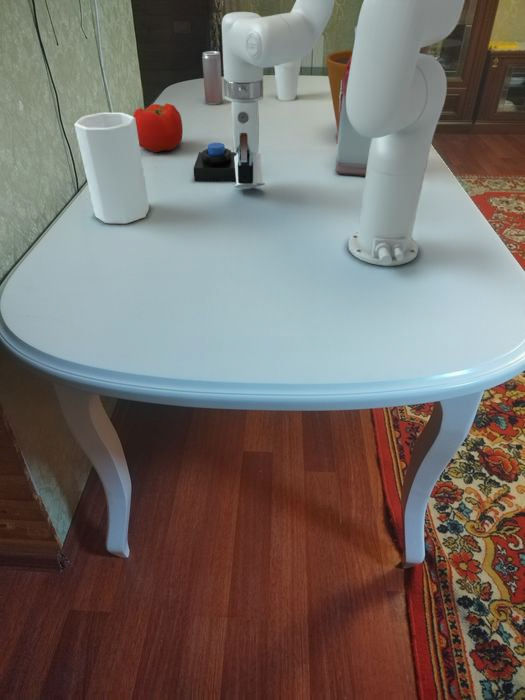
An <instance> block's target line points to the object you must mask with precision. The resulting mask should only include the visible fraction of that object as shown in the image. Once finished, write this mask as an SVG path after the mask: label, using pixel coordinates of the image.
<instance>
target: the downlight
mask: <svg viewBox="0 0 525 700" xmlns="http://www.w3.org/2000/svg"><path fill="white" fill-rule="evenodd" d="M234 162H235V173H236V182H235V183H236V184H233V188H241V189H244V188H255V187H262V186H264V185H266V182H263V172H262V158H261V153H259V152H258V153H257V154H256V155H255V153H252V162H253V183H252V184H240V183H238V153H237V155H236V156H234Z"/></svg>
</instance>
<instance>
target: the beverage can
mask: <svg viewBox="0 0 525 700" xmlns="http://www.w3.org/2000/svg"><path fill="white" fill-rule="evenodd" d="M221 57H222V56H221V53H220V52H219V51H216V50H209V51H208V50H207V51H204V52H202V56H201V59H202V60H201V61H202V75H203V89H204V101H205V103H206V104H207V105H212V106H215V105H220V104H222V103H223V100H224V99H223V97H224V96H223V78H222V77H223V76H222V59H221Z"/></svg>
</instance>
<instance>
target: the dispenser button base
mask: <svg viewBox="0 0 525 700" xmlns="http://www.w3.org/2000/svg"><path fill="white" fill-rule="evenodd" d="M236 155H237V154H236V153H235V152H234V151H232V150H230V149H229V148H226V147H225V154H223V155H218V156H213V155H209V154H208V148H206V149H203V150H202V151H199V152H198V153H197V156H196V160H195V163H194V165H193V176H194V179H193V180H194V182H227V183H228V182H229V183H230V182H231V183H232V182H235V183H236V173H235V162H234V156H236Z"/></svg>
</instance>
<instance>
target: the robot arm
mask: <svg viewBox="0 0 525 700" xmlns="http://www.w3.org/2000/svg"><path fill="white" fill-rule="evenodd" d="M335 1H336V0H296V1H295V2H294V4H293V7H292V9H291V11H290V12H285V13H278V14H272V15H268V16H261V15H260V14H259V13H256V12H251V11H235V12H233V11H232V12H228V13H226V14H225V15H224V16H223V17H222V19H221V43H222V66H223V86H224V87H223V89H224V91H223V92H224V99H225V100H227V101H229V102H230V112H231V132H232V146H233V152H235V153H236V154H237V153H238V183H240V184H252V183H253V162H252V153H255V155H256V154H257V153H258V154H259V146H260V114H259V113H260V111H259V101H261V100H263V99H264V69H268V68H274V66H278V65H281V64H285V63H289V62H293V61H297V60H301V61H302V59H304V58H306V57H307V56H308V55H309V54H310V53H312V51H313V50H314V48H315V47H316V46H317V44H318V43H319V41H320V38H321V37H322V35H323V33H324V31H325V30H326V27H327V25H328V24H329V22H330V19H331V16H332V14H333V11H334V7H335ZM465 2H466V0H363V2H362V4H361V7H360V11H359V15H358V19H357V25H356V26H357V30H356V36H355V35H354V43H353V48H352V50H353V54H352V60H351V66H350V72H349V77H348V83H347V91H346V110H347V115H348V118H349V121H350V123H351V125H352V126H353V128H354V129H355V130H356V131H357V132H358V133H359V134H361V135H363V136H365V137H368V138H372V141H371V145H370V149H369V156H368V162H367V170H366V176H365V177H364V186H363V187H364V188H363V195H362V202H361V210H360V218H359V219H360V220H359V226H358V231H357V232H355V233H353V234H352V235H351V236H350V237H349V239H348V250H349V252H350V253H351V254H352V255H353V256H354V257H355V258H357V259H358V260H361V261H363V262H365V263H368V264H372V265H377V266H384V267H385V266H387V267H388V266H389V267H390V266H391V267H392V266H400V265H404V264H407V263H409V262H411V261H413V260H414V259H415V258H416V257H417V255H418V252H419V244H418V243H417V241H416V240H415V239H414V238H413V232H414V228H415V223H416V217H417V213H418V209H419V208H418V207H419V203H420V198H421V193H422V188H423V183H424V178H425V173H426V169H427V166H428V165H427V164H428V160H429V155H430V150H431V146H432V142H433V139H434V135H435V132H436V129H437V126H438V124H439V120H440V117H441V115H442V111H443V109H444V106H445V101H446V97H447V90H448V89H447V88H448V84H447V83H448V82H447V81H448V80H447V76H446V72H445V70H444V68H443V66H442V65H441V63H440V62H439V61H438V60H437V59H436V58H434V57H433V56H431V55H429V54H426V53H420V52H421V49H422V48H426V47H429V46H432V45H434V44H437V43H439V42H442V41H443V40H445V39H446V38H447V37H449V36H450V35H451V34H452V32H453V31H454V30H455V28H456V27H457V25H458V23H459V20H460V18H461V16H462V13H463V8H464V5H465Z"/></svg>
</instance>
